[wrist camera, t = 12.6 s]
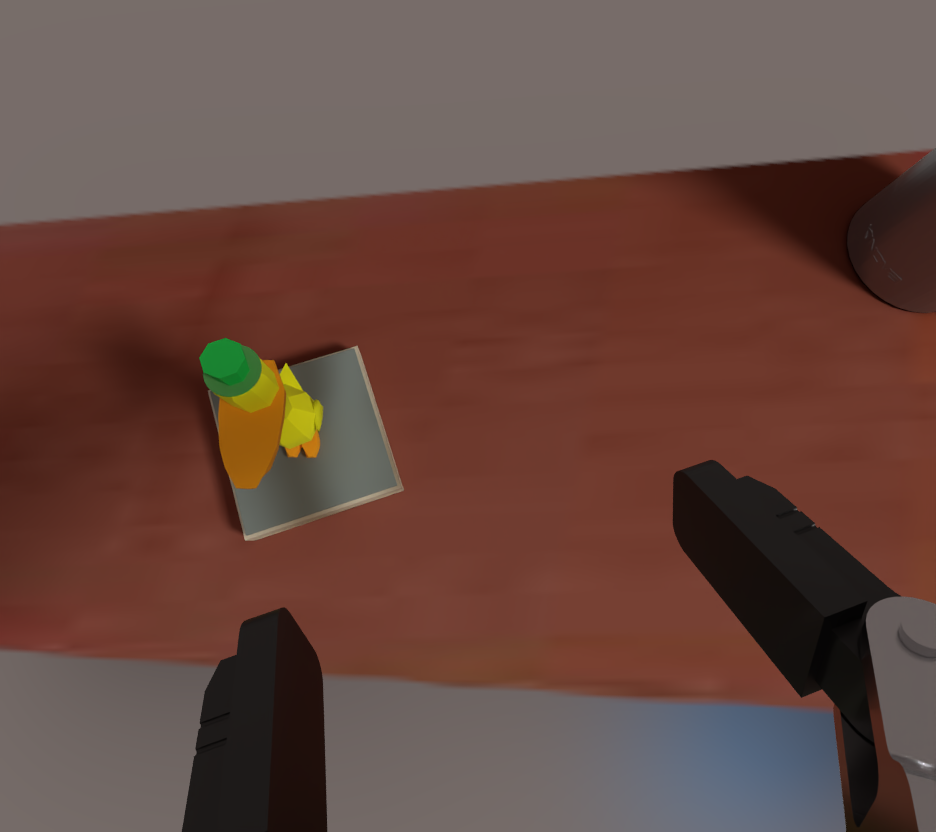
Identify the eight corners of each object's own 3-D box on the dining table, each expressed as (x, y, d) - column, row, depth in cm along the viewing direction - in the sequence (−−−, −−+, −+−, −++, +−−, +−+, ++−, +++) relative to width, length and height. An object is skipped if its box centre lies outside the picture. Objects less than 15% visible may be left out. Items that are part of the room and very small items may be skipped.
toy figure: (331, 503, 30) (261, 477, 18) (266, 503, 30) (153, 478, 18) (336, 386, 31) (275, 294, 20) (274, 386, 31) (175, 293, 20)
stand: (361, 355, 34) (356, 344, 32) (403, 490, 32) (401, 487, 30) (219, 398, 33) (205, 389, 31) (255, 540, 31) (242, 540, 29)
